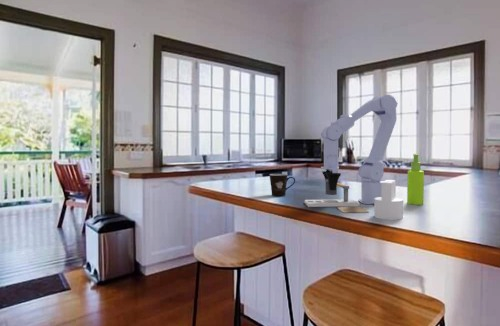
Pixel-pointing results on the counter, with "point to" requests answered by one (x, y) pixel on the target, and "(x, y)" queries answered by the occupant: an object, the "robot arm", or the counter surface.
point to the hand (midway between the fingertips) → (331, 189)
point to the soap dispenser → (415, 183)
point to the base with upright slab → (388, 202)
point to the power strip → (332, 202)
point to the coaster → (352, 210)
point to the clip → (343, 186)
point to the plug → (328, 191)
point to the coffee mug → (279, 184)
